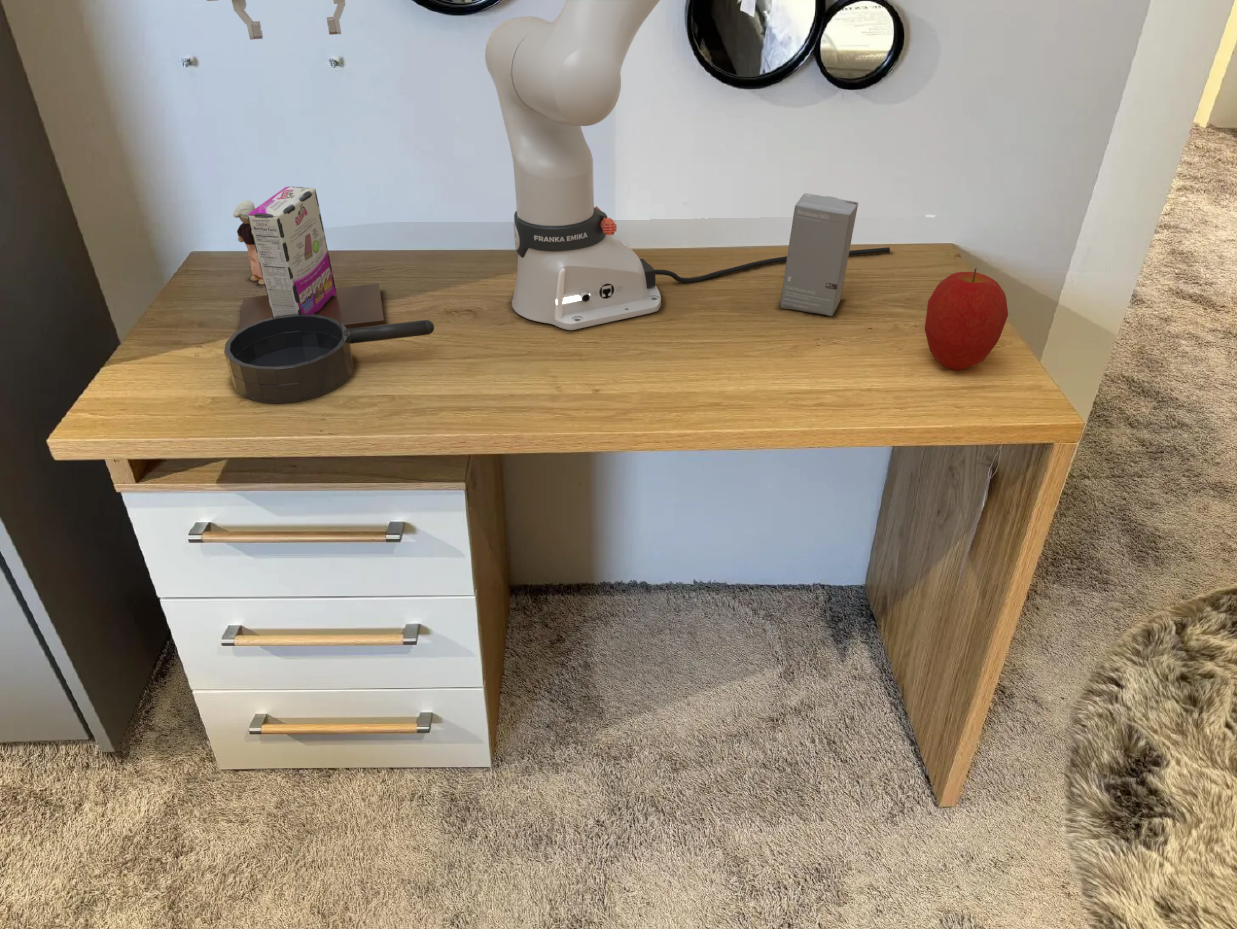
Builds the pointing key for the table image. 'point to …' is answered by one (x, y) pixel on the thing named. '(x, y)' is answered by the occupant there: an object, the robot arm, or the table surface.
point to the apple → (965, 319)
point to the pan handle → (389, 331)
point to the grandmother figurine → (248, 238)
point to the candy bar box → (293, 252)
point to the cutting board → (329, 307)
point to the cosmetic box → (818, 254)
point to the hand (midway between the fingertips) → (296, 35)
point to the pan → (289, 358)
